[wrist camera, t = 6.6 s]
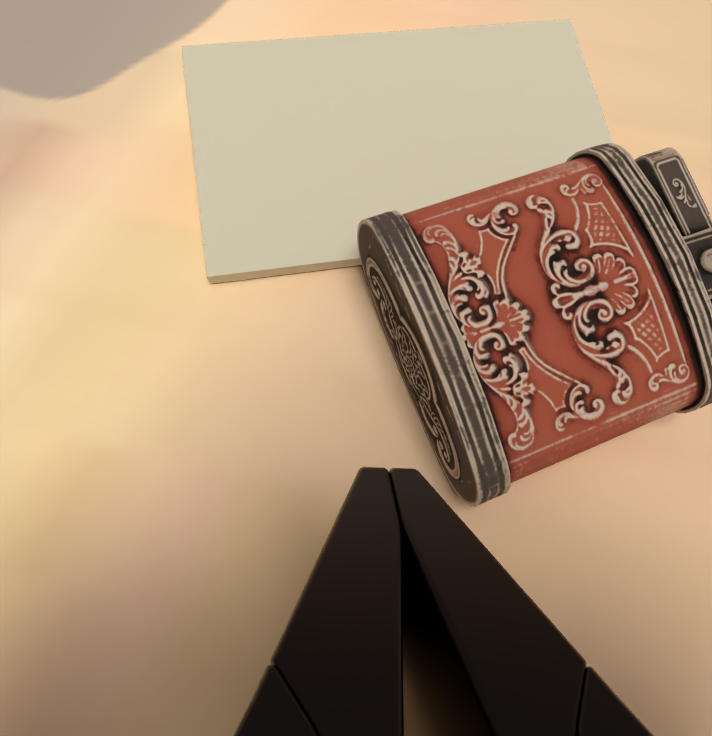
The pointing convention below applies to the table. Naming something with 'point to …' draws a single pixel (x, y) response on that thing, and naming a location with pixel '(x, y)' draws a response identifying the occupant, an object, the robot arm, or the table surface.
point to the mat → (371, 132)
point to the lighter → (547, 311)
